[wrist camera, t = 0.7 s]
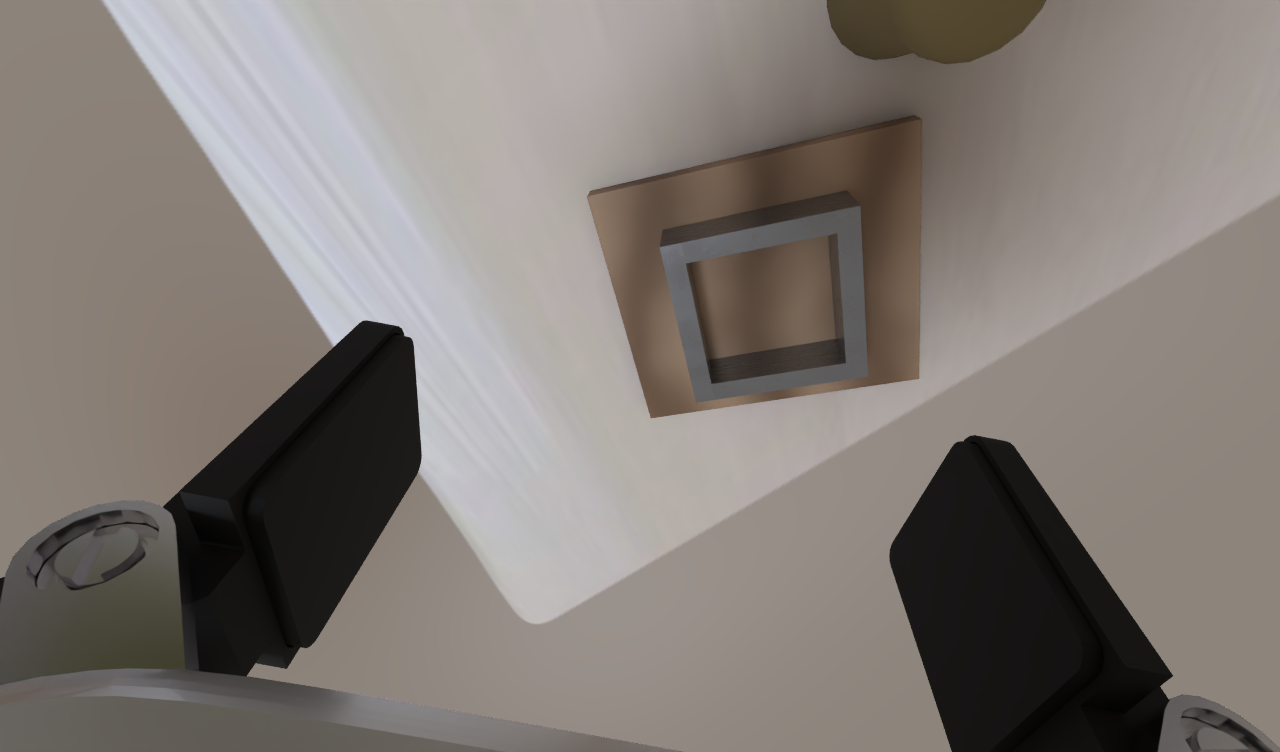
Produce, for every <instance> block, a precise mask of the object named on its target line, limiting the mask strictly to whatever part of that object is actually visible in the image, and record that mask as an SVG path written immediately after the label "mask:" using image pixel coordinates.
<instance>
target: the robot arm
mask: <svg viewBox="0 0 1280 752" xmlns="http://www.w3.org/2000/svg"><path fill="white" fill-rule="evenodd" d="M420 464H421V440H420V426H419V413H418V399H417V385H416V371H415V357H414V345H413V341H412V339H411V338H410V337H406V336H404V332H403V330H402V329H401V328H400V327H399V326H394V325H388V324H383V323H378V322H372V321H362V322H361V323H359V324H358V325H357V326H356V327H355V328H354V329H353V330H352V331H351V332H350V333H348V334H347V335H346V336H345V337H344V338H343V339H342V340H341V341H340V342H339V343H338V344H337V345H336V346H335V347H333V348H332V349H331V351H329V352H328V353H327V354H326V355H325V356H324V357H323V358H322V359H321V360H320V361H318V362H317V363H316V364H315V365H314V366H313V367H312V368H311V369H310V370H309V371H308V372H307V373H306V374H304V375H303V376H302V377H301V378H300V379H299V380H298V381H297V382H296V383H295V384H294V385H293V386H292V387H291V388H289V389H288V390H287V391H286V392H285V393H284V394H283V395H282V396H281V397H280V398H279V399H278V400H277V401H275V403H273V404H272V405H271V406H270V407H269V408H268V409H267V410H266V411H265V412H264V413H263V414H262V415H260V416H259V417H258V418H257V419H256V420H255V421H254V422H253V423H252V424H251V425H250V426H249V427H248V428H247V429H246V430H244V431H243V432H242V433H241V434H240V435H239V436H238V437H237V438H236V439H235V440H234V441H233V442H232V443H230V444H229V445H228V446H227V447H226V448H225V449H224V450H223V451H222V452H221V453H220V454H219V455H218V456H216V457H215V458H214V459H213V460H212V461H211V462H210V463H209V464H208V465H207V466H206V467H205V468H204V469H203V470H201V471H200V472H199V473H198V474H197V475H196V476H195V477H194V478H193V479H192V480H191V481H190V482H189V483H188V484H186V485H185V486H184V487H183V488H182V489H181V490H180V491H179V492H178V493H177V494H176V495H175V496H174V497H173V498H172V499H171V500H170V501H169V502H167V503H166V504H165V505H164V506H163V507H162V506H160V505H158V504H154V503H150V502H146V501H126V500H124V501H116V502H110V503H105V504H99V505H95V506H92V507H89V508H86V509H83V510H81V511H77V512H74V513H72V514H70V515H68V516H66V517H64V518H62V519H60V520H58V521H56V522H54V523H52V524H50V525H48V526H47V527H45V528H44V529H43V530H41V531H40V532H38V533H37V534H36V535H34V536H33V537H31V538H30V539H29V540H28V541H27V542H26V543H25V544H24V545H23V546H22V547H21V548H20V550H19V551H18V552H17V553H16V554H15V555H14V556H13V558H12V560H11V562H10V565H9V567H8V569H7V571H6V574H5V577H3V578H0V752H681V751H676V750H670V749H665V748H660V747H654V746H648V745H643V744H638V743H632V742H627V741H621V740H615V739H610V738H604V737H599V736H594V735H588V734H583V733H577V732H572V731H566V730H560V729H555V728H549V727H543V726H537V725H532V724H527V723H521V722H515V721H510V720H504V719H498V718H493V717H487V716H481V715H476V714H470V713H465V712H459V711H453V710H448V709H442V708H436V707H431V706H425V705H419V704H414V703H408V702H402V701H397V700H391V699H385V698H380V697H373V696H367V695H361V694H354V693H348V692H342V691H336V690H329V689H323V688H317V687H310V686H305V685H298V684H292V683H286V682H279V681H273V680H267V679H260V678H254V677H246V676H247V675H248V673H249V672H250V670H251V669H252V667H253V666H254V665H255V663H258V664H263V665H269V666H275V667H280V668H285V669H287V668H288V666H289V664H290V663H291V661H292V660H293V658H294V656H295V655H296V653H297V652H298V650H299V648H300V647H303V648H308V647H310V646H311V645H312V644H313V643H314V642H315V641H316V639H317V638H318V636H319V635H320V633H321V631H322V630H323V628H324V626H325V625H326V623H327V621H328V620H329V618H330V617H331V615H332V613H333V612H334V610H335V608H336V607H337V605H338V603H339V602H340V600H341V598H342V597H343V595H344V594H345V592H346V590H347V588H348V587H349V585H350V583H351V582H352V580H353V579H354V577H355V575H356V574H357V572H358V571H359V569H360V567H361V566H362V564H363V562H364V561H365V559H366V557H367V556H368V554H369V552H370V551H371V549H372V548H373V546H374V544H375V543H376V541H377V539H378V538H379V536H380V534H381V533H382V531H383V529H384V528H385V526H386V525H387V523H388V521H389V520H390V518H391V516H392V515H393V513H394V511H395V510H396V508H397V506H398V505H399V503H400V502H401V500H402V498H403V497H404V495H405V493H406V492H407V490H408V488H409V487H410V485H411V483H412V482H413V480H414V478H415V477H416V475H417V473H418V470H419V468H420ZM890 564H891V568H892V571H893V574H894V577H895V580H896V583H897V586H898V589H899V592H900V595H901V598H902V601H903V604H904V607H905V610H906V613H907V616H908V619H909V622H910V625H911V629H912V631H913V635H914V638H915V641H916V644H917V647H918V650H919V653H920V656H921V659H922V662H923V665H924V668H925V671H926V674H927V677H928V680H929V683H930V686H931V689H932V692H933V695H934V698H935V701H936V704H937V708H938V710H939V714H940V717H941V720H942V723H943V726H944V729H945V732H946V735H947V738H948V741H949V744H950V747H951V750H952V752H1280V748H1279V747H1278V746H1277V745H1276V744H1275V743H1274V742H1273V741H1272V740H1270V739H1269V738H1268V737H1267V736H1266V735H1265V734H1264V733H1263V732H1262V731H1260V730H1259V729H1257V728H1256V727H1255V726H1253V725H1252V724H1251V723H1249V722H1248V721H1247V720H1245V719H1244V718H1243V717H1241V716H1240V715H1238V714H1236V713H1234V712H1233V711H1231V710H1229V709H1227V708H1225V707H1224V706H1222V705H1220V704H1218V703H1216V702H1213V701H1210V700H1207V699H1205V698H1202V697H1199V696H1192V695H1179V696H1177V697H1174V698H1171V699H1168V698H1167V696H1166V695H1165V693H1164V692H1163V690H1162V689H1161V687H1160V686H1161V685H1162V684H1163V683H1165V682H1166V681H1167V680H1168V679H1170V678H1171V677H1172V676H1173V675H1172V673H1171V672H1170V671H1169V669H1168V668H1167V666H1166V665H1165V663H1164V662H1163V660H1162V659H1161V658H1160V656H1159V655H1158V653H1157V652H1156V650H1155V649H1154V648H1153V646H1152V645H1151V643H1150V642H1149V640H1148V639H1147V637H1146V636H1145V634H1144V633H1143V632H1142V630H1141V629H1140V627H1139V626H1138V624H1137V623H1136V621H1135V620H1134V619H1133V617H1132V616H1131V614H1130V613H1129V611H1128V610H1127V608H1126V607H1125V606H1124V604H1123V603H1122V601H1121V600H1120V599H1119V597H1118V596H1117V594H1116V593H1115V591H1114V590H1113V589H1112V587H1111V586H1110V584H1109V583H1108V581H1107V580H1106V578H1105V577H1104V575H1103V574H1102V573H1101V571H1100V570H1099V568H1098V567H1097V565H1096V564H1095V562H1094V561H1093V559H1092V558H1091V557H1090V555H1089V554H1088V552H1087V551H1086V549H1085V548H1084V546H1083V545H1082V544H1081V542H1080V541H1079V539H1078V538H1077V536H1076V535H1075V533H1074V532H1073V531H1072V529H1071V528H1070V526H1069V525H1068V523H1067V522H1066V521H1065V519H1064V518H1063V516H1062V515H1061V513H1060V512H1059V510H1058V509H1057V508H1056V506H1055V505H1054V503H1053V502H1052V500H1051V499H1050V497H1049V496H1048V495H1047V493H1046V492H1045V490H1044V489H1043V487H1042V486H1041V484H1040V483H1039V482H1038V480H1037V479H1036V477H1035V476H1034V474H1033V473H1032V471H1031V470H1030V469H1029V467H1028V466H1027V464H1026V463H1025V461H1024V460H1023V458H1022V457H1021V456H1020V454H1019V453H1018V451H1017V450H1016V448H1015V447H1014V446H1013V445H1012V444H1011V443H1009V442H1006V441H1002V440H997V439H991V438H986V437H981V436H976V435H974V436H969V437H968V438H966V439H965V440H964V441H963V442H962V441H961V442H957V443H955V444H954V445H953V447H952V448H951V449H950V451H949V453H948V454H947V456H946V457H945V459H944V461H943V462H942V464H941V465H940V467H939V469H938V470H937V472H936V474H935V475H934V477H933V478H932V480H931V482H930V483H929V485H928V486H927V488H926V490H925V491H924V493H923V494H922V496H921V498H920V499H919V501H918V503H917V504H916V506H915V507H914V509H913V511H912V512H911V514H910V516H909V517H908V519H907V520H906V522H905V523H904V525H903V527H902V528H901V530H900V532H899V533H898V535H897V536H896V538H895V540H894V541H893V543H892V545H891V548H890Z"/></svg>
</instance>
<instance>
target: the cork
mask: <svg viewBox="0 0 1280 752" xmlns="http://www.w3.org/2000/svg"><path fill="white" fill-rule="evenodd" d="M1045 2H1046V0H827V8H828V13H829V18H830V22H831V27H832V29H833V30H834V32H835V34H836V35H837V37H838V39H839V40H840V42H841V43H842V44H843V45H844V46H845V47H847V48H848V49H849V50H851V51H852V52H853V53H854V54H856V55H859V56H862V57H866V58H870V59H873V60H876V59H887V58H895V57H898V56H902V55H906V54H909V53H913V52H914V53H915V54H916V55H918V56H919V57H922V58H925V59H929V60H933V61H936V62H940V63H944V64H950V63H961V62H970V61H972V60H975V59H977V58H980V57H982V56H985V55H987V54H989V53H992V52H994V51H996V50H998V49H1000V48H1001V47H1003V46H1004V45H1005V44H1007V43H1008V42H1009V41H1011V40H1012V39H1013V38H1015V37H1016V36H1017V35H1019V34H1020V33H1022V32H1023V30H1024V29H1025V28H1026V27H1027V26H1028V25H1029V23H1030V22H1031V21H1032V20H1033V19H1034V17H1035V16H1036V15H1037V14H1038V13H1039V12H1040V10H1041V9H1042V7H1043V5H1044V4H1045Z"/></svg>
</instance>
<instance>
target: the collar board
mask: <svg viewBox="0 0 1280 752" xmlns="http://www.w3.org/2000/svg"><path fill="white" fill-rule="evenodd" d="M921 125H922V119H920V118H918V117H916V116H910V117H906V118H901V119H897V120H893V121H889V122H884V123H880V124H876V125H872V126H867V127H863V128H859V129H854V130H850V131H846V132H842V133H837V134H833V135H829V136H824V137H820V138H816V139H812V140H807V141H803V142H799V143H795V144H790V145H786V146H782V147H777V148H773V149H769V150H765V151H760V152H756V153H752V154H747V155H743V156H739V157H735V158H730V159H726V160H722V161H718V162H713V163H709V164H705V165H700V166H696V167H692V168H688V169H683V170H679V171H675V172H670V173H666V174H662V175H658V176H653V177H649V178H645V179H641V180H636V181H632V182H628V183H623V184H619V185H615V186H611V187H606V188H602V189H598V190H593V191H590V193H589V194H588V196H587V198H588V202H589V205H590V209H591V212H592V216H593V219H594V223H595V226H596V230H597V233H598V236H599V240H600V243H601V247H602V250H603V254H604V257H605V261H606V264H607V268H608V271H609V275H610V278H611V282H612V285H613V288H614V292H615V295H616V299H617V302H618V306H619V309H620V313H621V316H622V320H623V323H624V327H625V330H626V333H627V337H628V340H629V344H630V347H631V351H632V354H633V358H634V361H635V365H636V368H637V372H638V375H639V379H640V382H641V385H642V389H643V392H644V396H645V399H646V403H647V406H648V410H649V413H650V417H651V418H656V417H662V416H669V415H676V414H683V413H689V412H696V411H703V410H710V409H717V408H723V407H730V406H737V405H744V404H751V403H757V402H764V401H771V400H778V399H784V398H791V397H798V396H805V395H812V394H818V393H825V392H832V391H839V390H846V389H852V388H859V387H866V386H873V385H880V384H886V383H893V382H900V381H907V380H913V379H919V338H920V232H921ZM846 190H848V192H849V193H850V194H851V195H852V196H853V198H854V199H855V200H856V201H857V202H858V203H859V205H860V208H861V231H862V253H863V275H864V298H865V320H866V342H867V364H868V377H863V378H857V379H850V380H844V381H837V382H830V383H824V384H817V385H810V386H804V387H797V388H790V389H784V390H777V391H770V392H764V393H757V394H750V395H744V396H737V397H731V398H724V399H717V400H711V401H704V402H697V403H696V401H695V397H694V393H693V388H692V384H691V380H690V376H689V371H688V367H687V363H686V358H685V354H684V350H683V346H682V341H681V337H680V333H679V329H678V324H677V320H676V316H675V312H674V307H673V303H672V299H671V295H670V290H669V286H668V282H667V277H666V273H665V269H664V265H663V260H662V256H661V252H660V248H659V247H660V241H661V235H662V230H663V229H668V228H673V227H677V226H682V225H687V224H692V223H696V222H701V221H706V220H710V219H715V218H720V217H724V216H729V215H734V214H738V213H743V212H748V211H752V210H757V209H762V208H766V207H771V206H776V205H780V204H785V203H790V202H794V201H799V200H804V199H808V198H813V197H818V196H822V195H827V194H832V193H836V192H841V191H846ZM690 264H691V268H692V273H693V278H694V283H695V288H696V292H697V297H698V302H699V307H700V312H701V316H702V321H703V326H704V331H705V336H706V340H707V345H708V350H709V355H710V359H716V358H722V357H728V356H734V355H740V354H746V353H752V352H758V351H764V350H771V349H777V348H783V347H789V346H795V345H801V344H807V343H813V342H819V341H825V340H831V339H836V337H835V324H834V311H833V298H832V284H831V271H830V258H829V245H828V235H826V236H821V237H816V238H811V239H806V240H801V241H796V242H791V243H786V244H781V245H776V246H771V247H766V248H761V249H756V250H751V251H746V252H741V253H736V254H731V255H726V256H721V257H716V258H711V259H706V260H701V261H696V262H691V263H690Z"/></svg>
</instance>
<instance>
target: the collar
mask: <svg viewBox="0 0 1280 752" xmlns="http://www.w3.org/2000/svg"><path fill="white" fill-rule="evenodd" d="M826 235H828V245H829V258H830V271H831V284H832V298H833V311H834V324H835V337H836V339H831V340H825V341H819V342H813V343H807V344H801V345H795V346H789V347H783V348H777V349H771V350H764V351H758V352H752V353H746V354H740V355H734V356H728V357H722V358H716V359H710V355H709V350H708V345H707V340H706V336H705V331H704V326H703V321H702V316H701V312H700V307H699V302H698V297H697V292H696V288H695V283H694V278H693V273H692V268H691V264H690V263H691V262H696V261H701V260H706V259H711V258H716V257H721V256H726V255H731V254H736V253H741V252H746V251H751V250H756V249H761V248H766V247H771V246H776V245H781V244H786V243H791V242H796V241H801V240H806V239H811V238H816V237H821V236H826ZM659 248H660V252H661V256H662V260H663V265H664V269H665V273H666V277H667V282H668V286H669V290H670V295H671V299H672V303H673V307H674V312H675V316H676V320H677V324H678V329H679V333H680V337H681V341H682V346H683V350H684V354H685V358H686V363H687V367H688V371H689V376H690V380H691V384H692V388H693V393H694V397H695V401H696V403H697V402H704V401H711V400H717V399H724V398H731V397H737V396H744V395H750V394H757V393H764V392H770V391H777V390H784V389H790V388H797V387H804V386H810V385H817V384H824V383H830V382H837V381H844V380H850V379H857V378H863V377H868V364H867V342H866V320H865V298H864V275H863V253H862V231H861V208H860V205H859V203H858V202H857V201H856V200H855V199H854V198H853V196H852V195H851V194H850V193H849V192H848V190H846V191H841V192H836V193H832V194H827V195H822V196H818V197H813V198H808V199H804V200H799V201H794V202H790V203H785V204H780V205H776V206H771V207H766V208H762V209H757V210H752V211H748V212H743V213H738V214H734V215H729V216H724V217H720V218H715V219H710V220H706V221H701V222H696V223H692V224H687V225H682V226H677V227H673V228H668V229H663V230H662V235H661V241H660V247H659Z"/></svg>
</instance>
